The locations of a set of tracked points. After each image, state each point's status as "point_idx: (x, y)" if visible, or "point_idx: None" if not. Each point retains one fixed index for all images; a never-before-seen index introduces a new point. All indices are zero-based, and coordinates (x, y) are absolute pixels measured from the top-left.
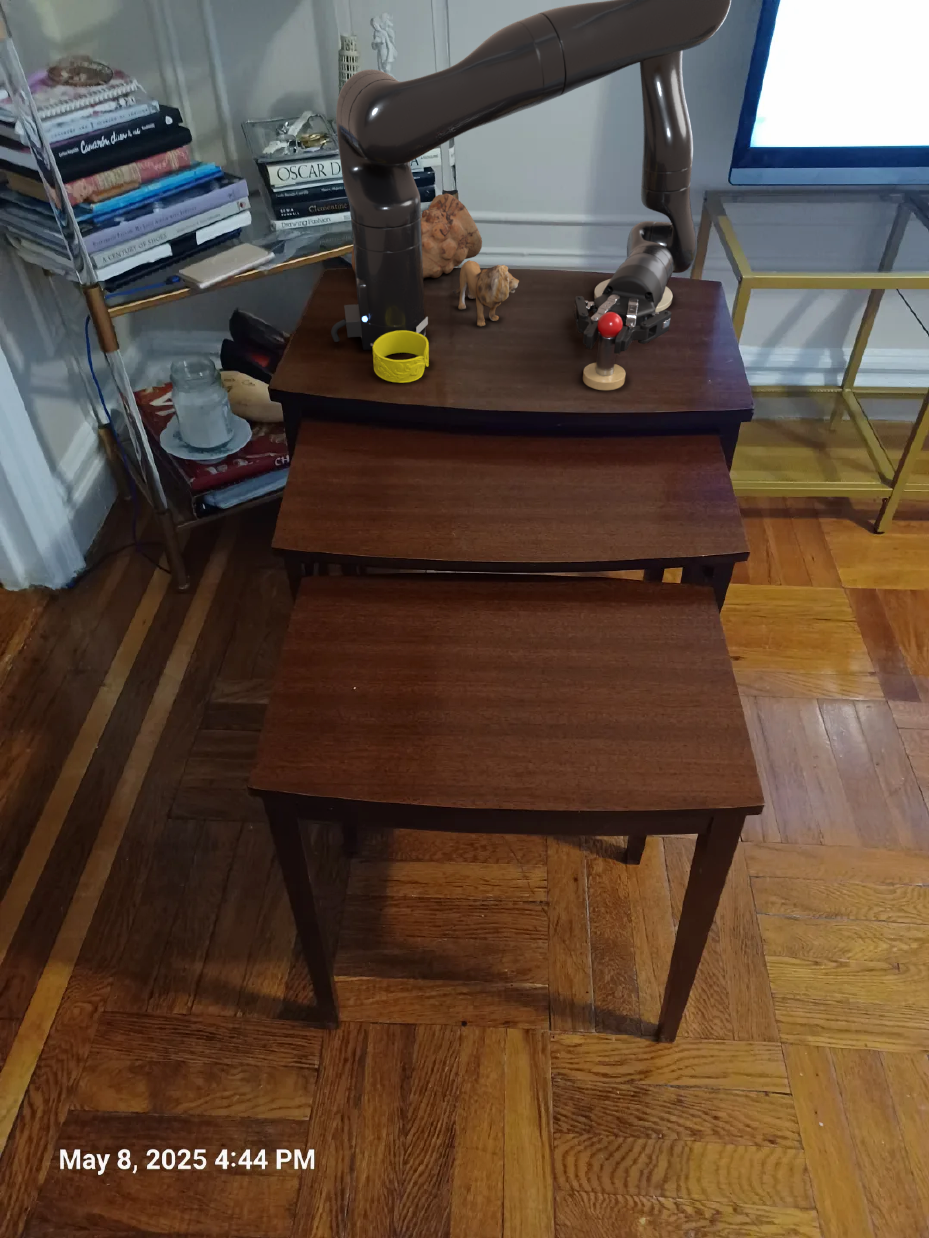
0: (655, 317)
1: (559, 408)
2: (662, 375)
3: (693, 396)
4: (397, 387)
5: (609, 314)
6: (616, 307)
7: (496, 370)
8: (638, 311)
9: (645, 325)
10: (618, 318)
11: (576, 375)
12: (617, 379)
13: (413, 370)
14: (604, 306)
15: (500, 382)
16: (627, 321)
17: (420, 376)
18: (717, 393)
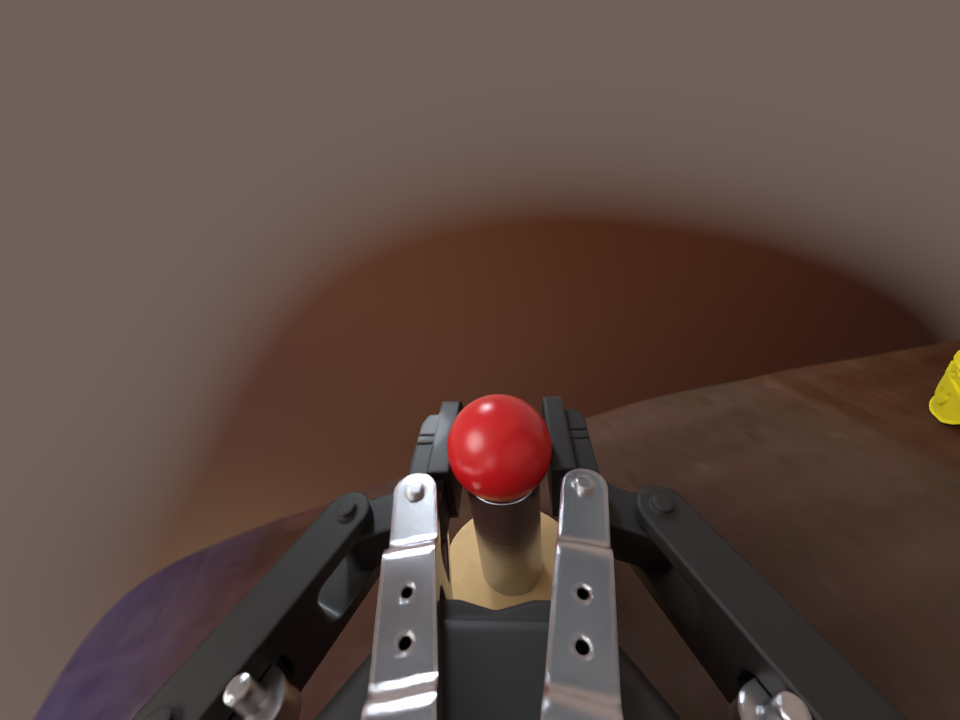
0: (273, 603)
1: None
2: (308, 708)
3: (243, 586)
4: (918, 384)
5: (500, 398)
6: (529, 688)
7: (840, 518)
8: (367, 681)
9: (347, 499)
10: (461, 411)
11: None
12: (462, 533)
13: (940, 382)
14: (588, 580)
15: (762, 468)
16: (430, 505)
17: (941, 419)
18: (152, 634)
